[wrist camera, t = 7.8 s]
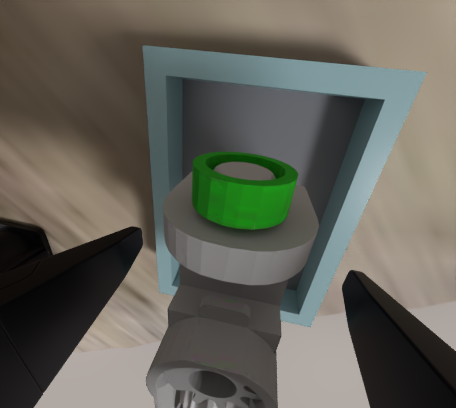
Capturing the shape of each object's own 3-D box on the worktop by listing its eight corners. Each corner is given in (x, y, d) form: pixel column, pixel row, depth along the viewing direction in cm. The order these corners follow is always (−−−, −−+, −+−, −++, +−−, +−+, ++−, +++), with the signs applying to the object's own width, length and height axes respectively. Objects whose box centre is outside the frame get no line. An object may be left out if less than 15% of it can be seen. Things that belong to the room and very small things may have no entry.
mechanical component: (291, 120, 11) (380, 214, 2) (258, 268, 16) (243, 486, 7) (234, 113, 11) (110, 170, 2) (219, 260, 16) (157, 459, 7)
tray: (176, 262, 19) (159, 292, 16) (173, 57, 12) (142, 45, 9) (303, 290, 17) (310, 327, 15) (384, 79, 10) (426, 72, 8)
